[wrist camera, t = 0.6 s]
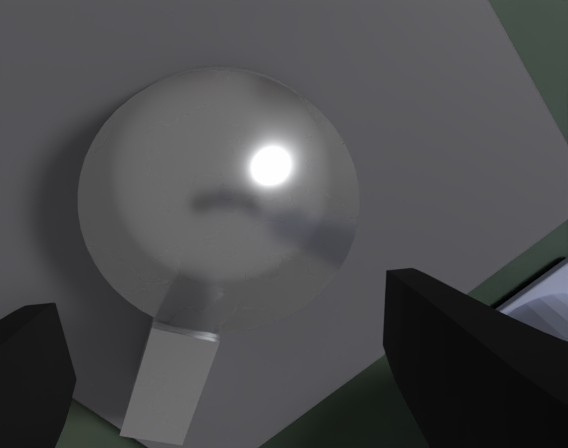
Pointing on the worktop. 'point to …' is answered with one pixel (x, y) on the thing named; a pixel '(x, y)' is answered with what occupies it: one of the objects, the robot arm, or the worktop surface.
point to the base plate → (351, 127)
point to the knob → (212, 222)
